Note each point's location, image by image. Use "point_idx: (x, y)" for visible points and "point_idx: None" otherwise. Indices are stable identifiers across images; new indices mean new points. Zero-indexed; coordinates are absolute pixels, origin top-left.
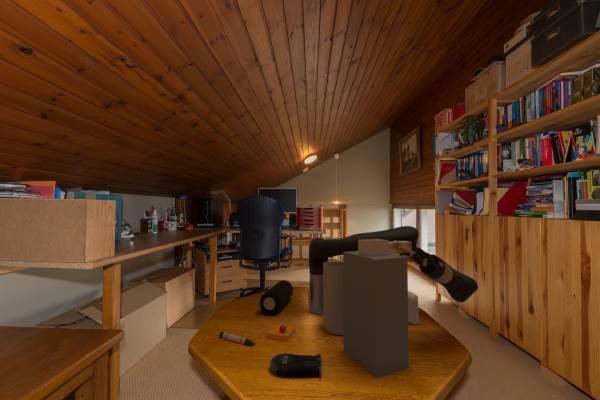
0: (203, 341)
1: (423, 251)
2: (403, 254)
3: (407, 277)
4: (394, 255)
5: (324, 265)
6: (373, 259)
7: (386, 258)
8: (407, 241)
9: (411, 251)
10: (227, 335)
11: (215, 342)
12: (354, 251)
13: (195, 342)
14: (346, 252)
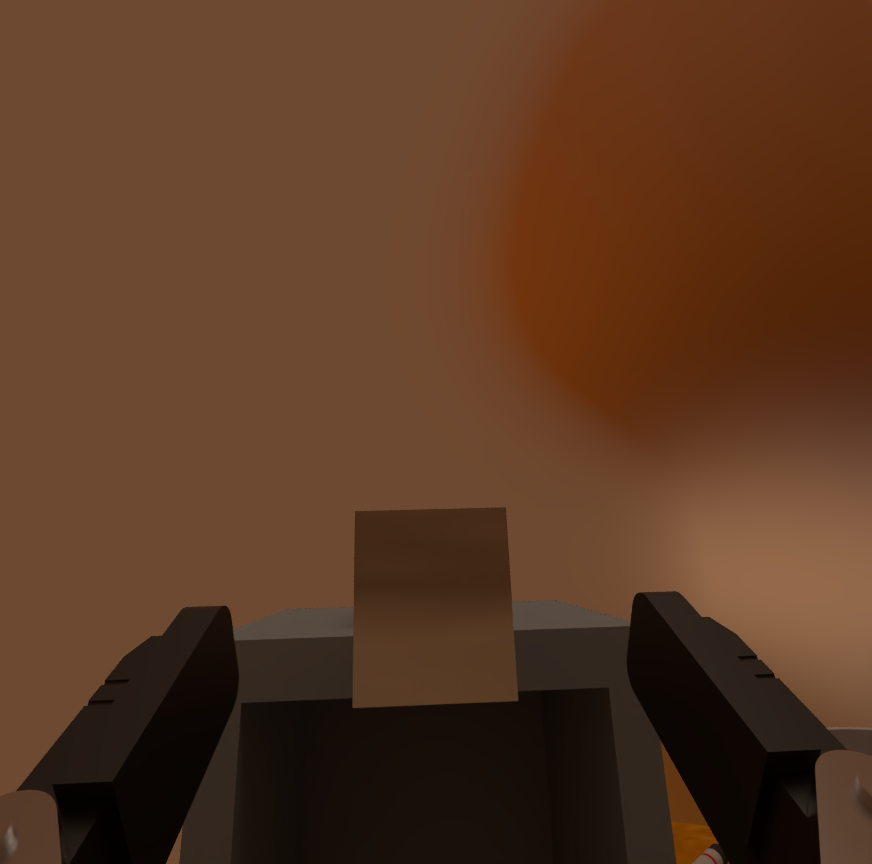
0: (682, 833)
1: (108, 686)
2: (729, 858)
3: (182, 844)
4: (313, 631)
5: (844, 733)
6: (302, 609)
7: (273, 617)
8: (418, 512)
9: (355, 688)
10: (699, 856)
11: (678, 850)
12: (566, 606)
13: (674, 822)
14: (534, 601)
